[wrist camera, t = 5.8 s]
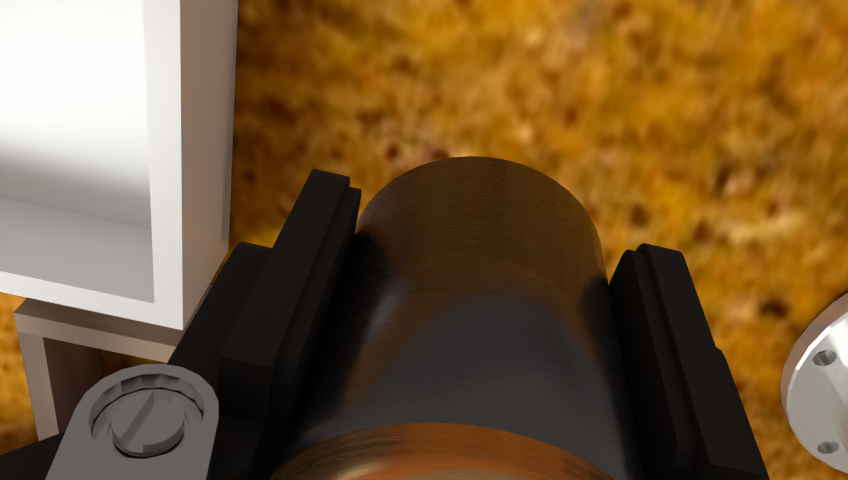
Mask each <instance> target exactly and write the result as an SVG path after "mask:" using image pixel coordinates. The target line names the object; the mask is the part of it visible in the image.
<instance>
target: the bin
mask: <svg viewBox="0 0 848 480" xmlns="http://www.w3.org/2000/svg"><path fill="white" fill-rule="evenodd" d="M237 24H238V0H0V292H4V293H9V294H13V295H18V296H23V297H28V298H32V299H37V300H42V301H47V302H51V303H56V304H61V305H66V306H70V307H75V308H80V309H84V310H89V311H94V312H99V313H103V314H108V315H113V316H118V317H122V318H127V319H132V320H136V321H141V322H146V323H151V324H155V325H160V326H165V327H170V328H174V329H179V330H183V329H184V327H185V326H186V324H187V322H188V320H189V319H190V317H191V315H192V313H193V312H194V310H195V308H196V306H197V305H198V303H199V301H200V299H201V298H202V296H203V294H204V293H205V291H206V289H207V287H208V286H209V284H210V282H211V280H212V279H213V277H214V275H215V273H216V272H217V270H218V268H219V266H220V265H221V263H222V261H223V259H224V258H225V256H226V254H227V252H228V251H229V226H230V201H231V176H232V150H233V125H234V100H235V75H236V49H237Z"/></svg>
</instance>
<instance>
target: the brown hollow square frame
mask: <svg viewBox="0 0 848 480" xmlns="http://www.w3.org/2000/svg"><path fill="white" fill-rule="evenodd" d="M212 285H213V284H211V283H210V284H209V286H208V287H207V289H206V291H205V293H204V294H203V296H202V298H201V299H200V301H199V303H198V305H197V306H196V308H195V310H194V312H193V313H192V315H191V317H190V319H189V320H188V322H187V324H186V326H185V327H184V329H183V330H179V329H174V328H170V327H165V326H160V325H155V324H151V323H146V322H141V321H136V320H132V319H127V318H122V317H118V316H113V315H108V314H103V313H99V312H94V311H89V310H84V309H80V308H75V307H70V306H66V305H61V304H56V303H51V302H47V301H42V300H37V299H32V298H28V297H27V298H26V300H25V301H24V302H23V303H22V304H21V305H20V306H19V307H18V308H17V310H16V311H15V312H14V317H15V322H16V328H17V333H18V338H19V343H20V348H21V353H22V358H23V363H24V368H25V373H26V378H27V384H28V389H29V394H30V399H31V404H32V409H33V414H34V419H35V424H36V429H37V435H38V440H39V441H41V440H43V439H46V438H49V437H51V436H54V435H57V434H59V433H62V432H65V431H66V429H67V427H68V425H69V422H70V420H71V418H72V415H73V413H74V411H75V408H76V407H77V405H78V404H79V402H80V401H81V399H82V398H83V396H84V395H85V393H86V392H87V391H88V390H89V389H91V388H92V387H93V386H94V385H95V384H97V383H98V382H99V381H100V380H101V379H103V372H102V362H101V353H100V349H103V350H108V351H112V352H117V353H122V354H127V355H131V356H136V357H141V358H146V359H151V360H155V361H160V362H165V363H167V362H168V360H169V359H170V357H171V355H172V353H173V352H174V350H175V348H176V347H177V345H178V343H179V342H180V340H181V338H182V336H183V335H184V333H185V331H186V330H187V328H188V326H189V325H190V323H191V321H192V319H193V318H194V316H195V314H196V313H197V311H198V309H199V308H200V306H201V304H202V302H203V301H204V299H205V297H206V296H207V294H208V292H209V291H210V289H211V287H212Z"/></svg>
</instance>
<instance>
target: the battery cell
mask: <svg viewBox="0 0 848 480" xmlns="http://www.w3.org/2000/svg"><path fill="white" fill-rule="evenodd" d="M268 480H645V478H644V472H643V467H642V462H641V456H640V451H639V446H638V440H637V435H636V430H635V424H634V419H633V413H632V408H631V403H630V397H629V392H628V387H627V381H626V376H625V371H624V365H623V360H622V355H621V349H620V344H619V339H618V333H617V328H616V323H615V317H614V312H613V307H612V301H611V296H610V291H609V285H608V280H607V275H606V269H605V264H604V259H603V253H602V248H601V242H600V239H599V236H598V233H597V230H596V228H595V226H594V224H593V222H592V220H591V218H590V216H589V215H588V213H587V212H586V210H585V209H584V208H583V206H582V205H581V204H580V202H579V201H578V200H577V199H576V198H575V197H574V196H573V195H572V194H571V193H570V192H569V191H568V190H566V189H565V188H564V187H563V186H561V185H560V184H559V183H557V182H556V181H555V180H553V179H551V178H550V177H548V176H546V175H544V174H543V173H541V172H539V171H537V170H534V169H532V168H530V167H527V166H525V165H522V164H518V163H515V162H511V161H508V160H503V159H497V158H491V157H474V156H468V157H454V158H448V159H443V160H437V161H433V162H430V163H427V164H424V165H421V166H418V167H416V168H414V169H412V170H410V171H407V172H405V173H403V174H402V175H400V176H399V177H397V178H395V179H394V180H392V181H391V182H389V183H388V184H387V185H386V186H385V187H384V188H382V189H381V190H380V191H379V192H378V193H377V194H376V195H375V196H374V197H373V199H372V200H371V201H370V202H369V203H368V205H367V206H366V208H365V209H364V211H363V213H362V214H361V216H360V218H359V221H358V223H357V225H356V229H355V235H354V237H353V240H352V243H351V246H350V249H349V252H348V255H347V258H346V261H345V264H344V267H343V269H342V272H341V275H340V278H339V281H338V284H337V287H336V290H335V293H334V296H333V299H332V301H331V304H330V307H329V310H328V313H327V316H326V319H325V322H324V325H323V328H322V330H321V333H320V336H319V339H318V342H317V345H316V348H315V351H314V354H313V357H312V360H311V362H310V365H309V368H308V371H307V374H306V377H305V380H304V383H303V386H302V389H301V392H300V394H299V397H298V400H297V403H296V406H295V409H294V412H293V415H292V418H291V421H290V423H289V426H288V429H287V432H286V434H285V436H284V438H283V440H282V442H281V444H280V447H279V449H278V451H277V454H276V457H275V460H274V463H273V466H272V469H271V472H270V474H269V477H268Z"/></svg>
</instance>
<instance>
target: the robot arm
mask: <svg viewBox="0 0 848 480" xmlns="http://www.w3.org/2000/svg"><path fill="white" fill-rule="evenodd" d="M349 184H350V177H348V176H343V175H339V174H334V173H330V172H325V171H321V170H317V169H313V170H312V171H311V173H310V175H309V177H308V179H307V181H306V183H305V185H304V187H303V189H302V191H301V193H300V195H299V197H298V199H297V201H296V202H295V204H294V206H293V208H292V210H291V212H290V214H289V216H288V218H287V220H286V222H285V224H284V226H283V228H282V230H281V232H280V234H279V236H278V238H277V240H276V242H275V244H274V246H273V248H269V247H265V246H260V245H256V244H251V243H247V242H240V243H238V244H237V246H236V247H235V248H234V250H233V251H232V253H231V255H230V257H229V258H228V260H227V262H226V263H225V265H224V267H223V268H222V270H221V272H220V274H219V275H218V277H217V279H216V280H215V282H214V284H213V285H212V287H211V289H210V291H209V292H208V294H207V296H206V297H205V299H204V301H203V302H202V304H201V306H200V308H199V309H198V311H197V313H196V314H195V316H194V318H193V319H192V321H191V323H190V325H189V326H188V328H187V330H186V331H185V333H184V335H183V336H182V338H181V340H180V342H179V343H178V345H177V347H176V348H175V350H174V352H173V353H172V355H171V357H170V359H169V360H168V362H167V364H142V365H138V366H134V367H130V368H126V369H122V370H119V371H117V372H115V373H113V374H111V375H109V376H107V377H105V378H103V379H101V380H100V381H99V382H98V383H97V384H95V385H94V386H93V387H92V388H91V389H89V390H88V391H87V392H86V393H85V395H84V396H83V398H82V399H81V401H80V402H79V404H78V405H77V407H76V408H75V411H74V413H73V415H72V418H71V420H70V422H69V425H68V427H67V429H66V431H65V432H62V433H59V434H57V435H54V436H51V437H49V438H46V439H43V440H41V441H38V442H35V443H33V444H30V445H27V446H25V447H22V448H19V449H17V450H14V451H11V452H9V453H6V454H3V455H1V456H0V480H268V477H269V474H270V472H271V469H272V466H273V463H274V460H275V457H276V454H277V451H278V449H279V447H280V444H281V442H282V440H283V438H284V436H285V434H286V432H287V429H288V426H289V423H290V421H291V418H292V415H293V412H294V409H295V406H296V403H297V400H298V397H299V394H300V392H301V389H302V386H303V383H304V380H305V377H306V374H307V371H308V368H309V365H310V362H311V360H312V357H313V354H314V351H315V348H316V345H317V342H318V339H319V336H320V333H321V330H322V328H323V325H324V322H325V319H326V316H327V313H328V310H329V307H330V304H331V301H332V299H333V296H334V293H335V290H336V287H337V284H338V281H339V278H340V275H341V272H342V269H343V267H344V264H345V261H346V258H347V255H348V252H349V249H350V246H351V243H352V240H353V237H354V235H355V229H356V223H357V217H358V211H359V205H360V199H361V189H357V188H353V187H349ZM609 291H610V296H611V301H612V307H613V312H614V317H615V323H616V328H617V333H618V339H619V344H620V349H621V355H622V360H623V365H624V371H625V376H626V381H627V387H628V392H629V397H630V403H631V408H632V413H633V419H634V424H635V430H636V435H637V440H638V446H639V451H640V456H641V462H642V467H643V472H644V478H645V480H770V479H769V476H768V473H767V471H766V468H765V465H764V462H763V460H762V457H761V454H760V451H759V449H758V446H757V443H756V440H755V438H754V435H753V432H752V429H751V427H750V424H749V421H748V418H747V416H746V413H745V410H744V407H743V405H742V402H741V399H740V396H739V394H738V391H737V388H736V386H735V383H734V380H733V377H732V375H731V372H730V369H729V366H728V364H727V361H726V358H725V357H724V355H723V353H722V351H721V350H719V349H718V348H717V347H716V346H715V343H714V340H713V338H712V335H711V332H710V329H709V326H708V323H707V321H706V318H705V315H704V312H703V309H702V307H701V304H700V301H699V298H698V295H697V292H696V290H695V287H694V284H693V281H692V278H691V276H690V273H689V270H688V267H687V264H686V261H685V259H684V256H683V254H682V253H681V252H679V251H676V250H672V249H667V248H663V247H658V246H654V245H650V244H645V243H643V244H641V245H640V246H639V247H638V248H637V250H636V251H633V250H626V251H625V252H624V253H623V255H622V257H621V259H620V261H619V263H618V265H617V268H616V270H615V272H614V274H613V277H612V279H611V281H610V283H609ZM780 389H781V401H782V406H783V408H784V411H785V413H786V416H787V419H788V421H789V424H790V426H791V428H792V430H793V432H794V433H795V435H796V437H797V438H798V440H799V442H800V443H801V444H802V445H803V446H804V447H805V448H806V449H807V450H808V451H809V452H810V453H811V454H812V455H813V456H814V457H816V458H817V459H819V460H821V461H822V462H824V463H826V464H827V465H829V466H831V467H832V468H835V469H837V470H840V471H843V472H845V473H848V293H846V294H845V295H844V296H842V297H841V298H839V299H838V300H836V301H835V302H833V303H832V304H831V305H830V306H829V307H828V308H826V309H825V310H824V311H823V312H822V313H821V314H820V315H819V316H818V317H817V318H816V319H814V320H813V321H812V322H811V323H810V324H809V326H808V327H807V328H806V330H805V331H804V332H803V333H802V335H801V336H800V337H799V339H798V340H797V341H796V343H795V344H794V346H793V348H792V350H791V352H790V354H789V356H788V358H787V360H786V362H785V364H784V369H783V374H782V379H781V383H780Z"/></svg>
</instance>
